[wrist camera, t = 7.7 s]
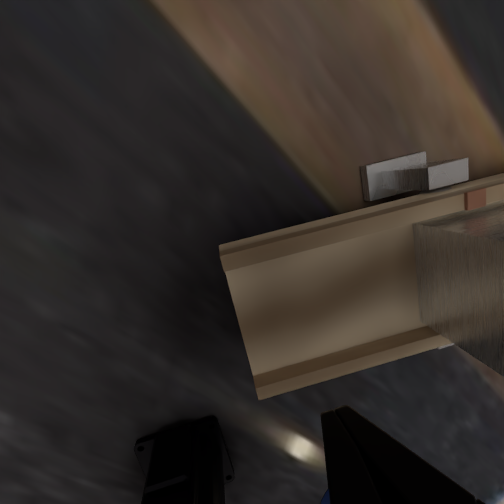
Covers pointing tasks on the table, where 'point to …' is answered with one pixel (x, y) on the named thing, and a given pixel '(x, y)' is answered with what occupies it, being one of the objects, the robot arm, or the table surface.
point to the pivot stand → (410, 177)
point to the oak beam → (338, 289)
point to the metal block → (464, 279)
